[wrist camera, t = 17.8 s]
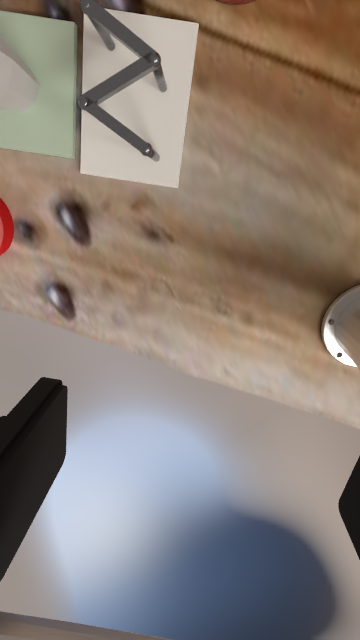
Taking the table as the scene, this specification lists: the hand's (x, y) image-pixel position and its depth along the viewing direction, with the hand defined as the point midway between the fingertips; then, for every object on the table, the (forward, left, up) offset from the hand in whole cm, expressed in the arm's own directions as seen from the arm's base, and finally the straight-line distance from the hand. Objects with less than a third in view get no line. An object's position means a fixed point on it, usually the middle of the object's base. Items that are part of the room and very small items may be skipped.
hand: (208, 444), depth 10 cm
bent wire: (+10, -15, -36) cm, 40 cm away
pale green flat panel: (+23, -15, -36) cm, 45 cm away
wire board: (+10, -15, -36) cm, 40 cm away
